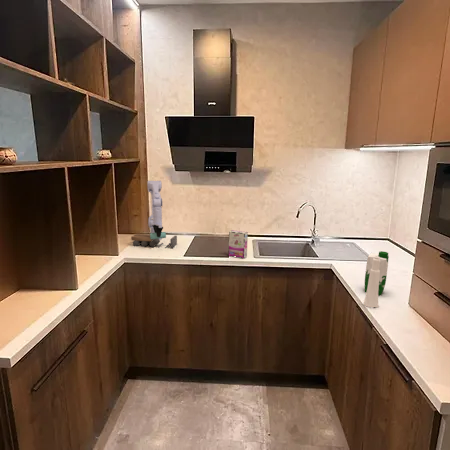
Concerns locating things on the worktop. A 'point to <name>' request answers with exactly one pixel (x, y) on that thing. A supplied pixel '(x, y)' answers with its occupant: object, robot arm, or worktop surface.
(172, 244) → the bar
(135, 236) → the slab
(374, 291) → the cosmetic bottle
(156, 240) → the roller bed
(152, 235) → the roller
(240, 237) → the candy bar box
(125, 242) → the worktop surface
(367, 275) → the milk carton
